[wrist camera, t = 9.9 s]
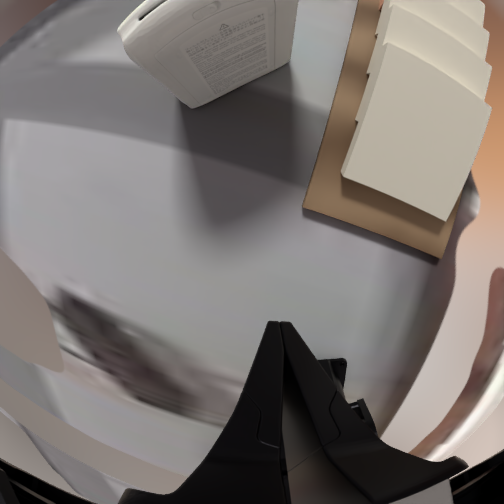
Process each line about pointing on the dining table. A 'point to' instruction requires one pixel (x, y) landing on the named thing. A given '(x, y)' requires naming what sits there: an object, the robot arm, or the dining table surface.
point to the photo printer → (209, 43)
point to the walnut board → (336, 148)
